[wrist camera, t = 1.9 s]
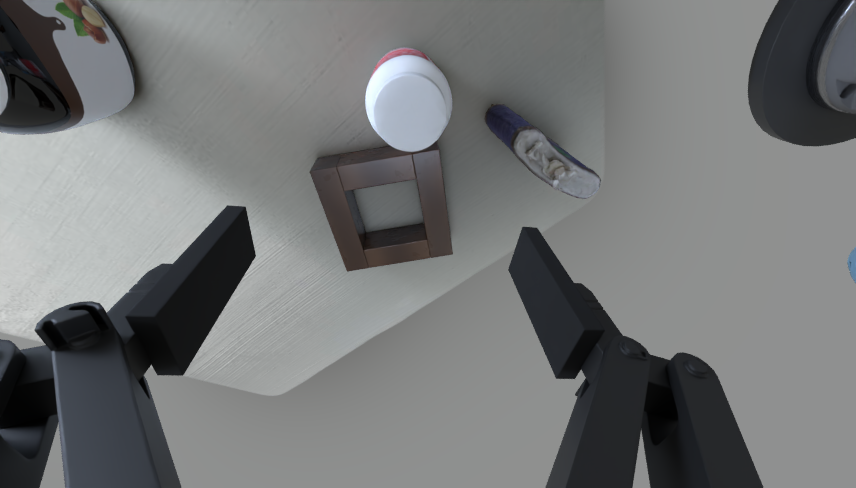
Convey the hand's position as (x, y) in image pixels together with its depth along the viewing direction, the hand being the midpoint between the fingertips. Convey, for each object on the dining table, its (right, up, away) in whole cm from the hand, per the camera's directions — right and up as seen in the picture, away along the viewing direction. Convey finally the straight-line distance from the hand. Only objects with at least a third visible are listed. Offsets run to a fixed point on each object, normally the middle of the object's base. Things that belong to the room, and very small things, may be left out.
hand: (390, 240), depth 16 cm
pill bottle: (0, +14, +14) cm, 20 cm away
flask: (+11, +11, +17) cm, 23 cm away
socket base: (-2, +5, +20) cm, 20 cm away
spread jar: (-28, +16, +10) cm, 34 cm away
